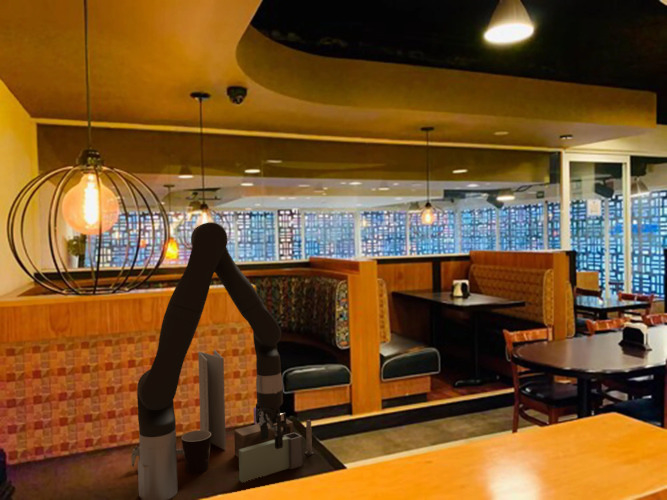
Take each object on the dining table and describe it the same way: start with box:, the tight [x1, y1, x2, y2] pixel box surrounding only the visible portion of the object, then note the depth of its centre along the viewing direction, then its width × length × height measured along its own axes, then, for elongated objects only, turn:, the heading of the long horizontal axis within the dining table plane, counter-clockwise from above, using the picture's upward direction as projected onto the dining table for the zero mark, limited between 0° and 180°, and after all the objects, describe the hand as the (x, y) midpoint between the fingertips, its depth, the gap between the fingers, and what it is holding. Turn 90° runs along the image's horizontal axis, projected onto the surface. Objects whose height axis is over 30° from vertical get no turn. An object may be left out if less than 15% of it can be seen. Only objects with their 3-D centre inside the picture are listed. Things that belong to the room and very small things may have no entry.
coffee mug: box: [180, 430, 212, 475], centre depth 153 cm, size 12×9×10 cm
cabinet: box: [233, 418, 315, 459], centre depth 160 cm, size 20×15×11 cm
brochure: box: [197, 349, 227, 451], centre depth 170 cm, size 14×6×30 cm, turn 25°
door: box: [238, 431, 304, 484], centre depth 148 cm, size 19×4×9 cm, turn 126°
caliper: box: [130, 445, 184, 467], centre depth 157 cm, size 20×1×6 cm, turn 117°
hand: (271, 443), depth 148 cm, fingers open, 8 cm apart
